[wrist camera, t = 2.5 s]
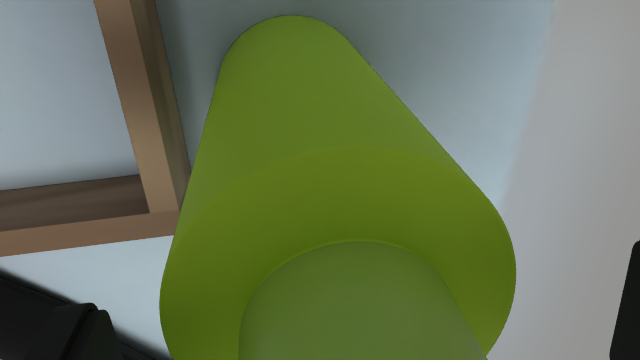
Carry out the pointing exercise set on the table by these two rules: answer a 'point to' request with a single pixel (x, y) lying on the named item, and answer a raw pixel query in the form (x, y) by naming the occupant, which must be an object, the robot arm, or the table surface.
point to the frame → (148, 144)
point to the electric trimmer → (30, 321)
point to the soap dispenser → (328, 219)
